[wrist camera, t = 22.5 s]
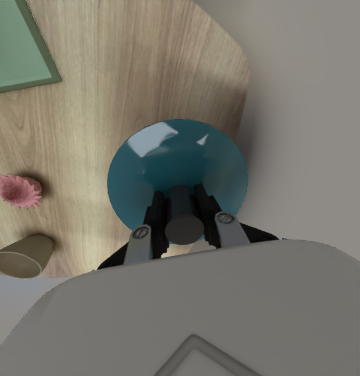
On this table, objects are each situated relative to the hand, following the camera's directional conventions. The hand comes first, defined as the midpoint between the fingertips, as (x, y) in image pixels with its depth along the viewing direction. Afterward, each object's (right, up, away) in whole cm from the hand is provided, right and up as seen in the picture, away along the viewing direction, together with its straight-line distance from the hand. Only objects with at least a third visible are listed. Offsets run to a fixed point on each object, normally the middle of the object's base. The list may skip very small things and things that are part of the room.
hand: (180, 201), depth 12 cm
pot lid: (0, +1, +1) cm, 1 cm away
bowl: (-38, -13, +24) cm, 47 cm away
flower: (-32, +2, +17) cm, 36 cm away
